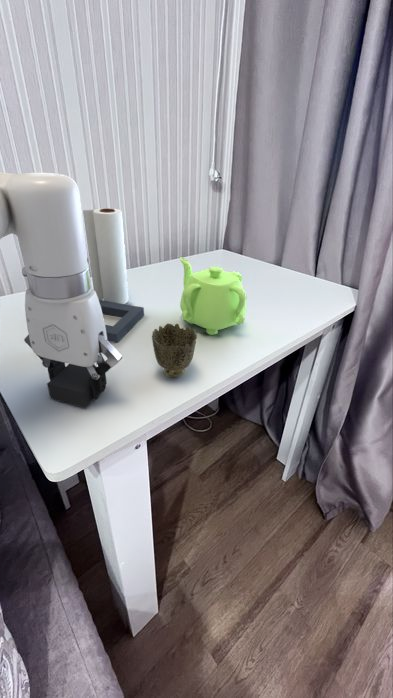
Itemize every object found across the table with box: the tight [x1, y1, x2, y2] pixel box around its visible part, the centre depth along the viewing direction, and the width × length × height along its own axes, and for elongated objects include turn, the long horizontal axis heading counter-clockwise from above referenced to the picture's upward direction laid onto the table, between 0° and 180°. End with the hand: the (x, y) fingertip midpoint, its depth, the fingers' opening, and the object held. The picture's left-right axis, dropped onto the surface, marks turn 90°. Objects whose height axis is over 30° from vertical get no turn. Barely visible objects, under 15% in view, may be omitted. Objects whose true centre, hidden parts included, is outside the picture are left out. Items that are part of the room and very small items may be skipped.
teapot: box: [179, 257, 247, 336], centre depth 72 cm, size 16×14×13 cm
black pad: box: [46, 363, 108, 409], centre depth 52 cm, size 6×6×3 cm
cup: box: [151, 323, 198, 378], centre depth 56 cm, size 8×7×8 cm
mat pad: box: [99, 299, 145, 344], centre depth 73 cm, size 16×13×2 cm
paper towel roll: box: [82, 207, 129, 305], centre depth 77 cm, size 7×6×21 cm
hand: (79, 388), depth 52 cm, fingers closed on black pad, 6 cm apart
